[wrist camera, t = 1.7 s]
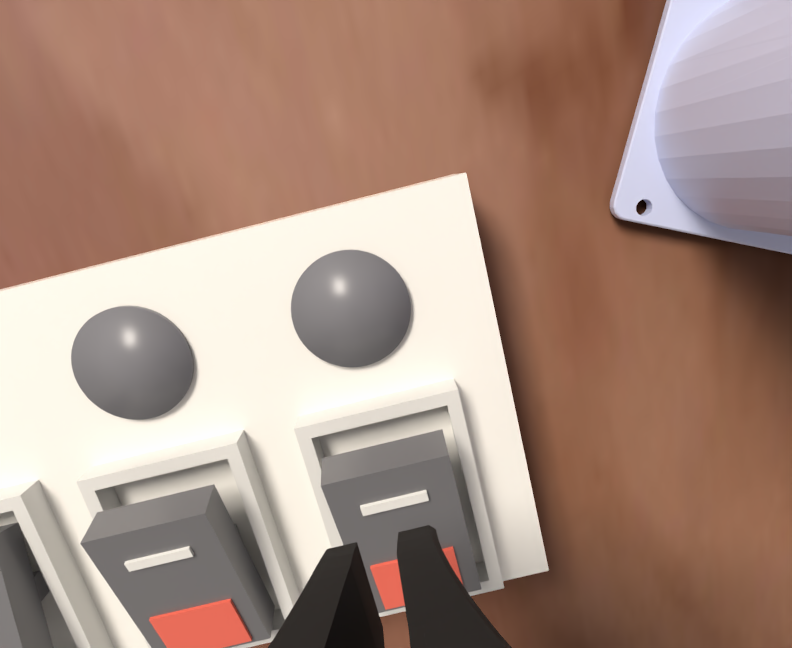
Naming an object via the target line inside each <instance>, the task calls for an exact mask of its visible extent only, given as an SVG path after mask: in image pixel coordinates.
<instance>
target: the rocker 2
mask: <svg viewBox="0 0 792 648" xmlns="http://www.w3.org/2000/svg"><path fill="white" fill-rule="evenodd" d="M321 488H322V491H323V493H324V496H325V498H326V501H327V504H328V506H329V509H330V511H331V514H332V517H333V519H334V522H335V524H336V527H337V529H338V532H339V535H340V537H341V540H342V542H343V545H346V544H350V543H355V542H357V544H358V547H359V551H360V554H361V557H362V561H363V564H364V567H365V570H366V574H367V577H368V580H369V584H370V587H371V590H372V593H373V597H374V600H375V603H376V607H377V610H378V613H381V612H386V611H390V610H394V609H399V608H403V607H405V603H404V597H403V591H402V585H401V579H400V573H399V566H398V560H397V540H398V532H401V531H406V530H410V529H414V528H418V527H423V526H427V525H430V526H432V527H433V528H435V529H436V531H437V535H438V539H439V543H440V545H441V548H442V550H443V552H444V554H445V556H446V558H447V560H448V561H449V563H450V565H451V567H452V569H453V570H454V572H455V574H456V575H457V577H458V578H459V580H460V581H461V583H462V584H463V586H464V587H465V589H466V590H467V592H472V591H477V590H481V584H480V580H479V576H478V572H477V568H476V564H475V560H474V556H473V552H472V547H471V543H470V539H469V535H468V531H467V527H466V523H465V519H464V515H463V511H462V506H461V502H460V498H459V494H458V490H457V486H456V482H455V478H454V474H453V469H452V465H451V461H450V457H449V453H448V449H447V445H446V441H445V438H444V434H443V430H442V429H441V430H437V431H433V432H429V433H424V434H420V435H416V436H412V437H408V438H404V439H399V440H395V441H391V442H387V443H383V444H379V445H375V446H370V447H366V448H362V449H358V450H354V451H350V452H345V453H341V454H337V455H333V456H329V457H325V458H322V471H321Z"/></svg>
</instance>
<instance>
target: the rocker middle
mask: <svg viewBox="0 0 792 648" xmlns="http://www.w3.org/2000/svg"><path fill="white" fill-rule="evenodd" d="M80 544H81V545H82V547H83V548H84V550H85V551H86V553H87V554H88V556H89V557H90V558H91V560H92V561H93V563H94V564H95V566H96V567H97V569H98V570H99V572H100V573H101V575H102V576H103V578H104V579H105V580H106V582H107V583H108V585H109V586H110V588H111V589H112V591H113V592H114V594H115V595H116V597H117V598H118V599H119V601H120V602H121V604H122V605H123V607H124V608H125V610H126V611H127V613H128V614H129V616H130V617H131V618H132V620H133V621H134V623H135V624H136V626H137V627H138V629H139V630H140V632H141V633H142V635H143V636H144V637H145V639H146V640H147V642H148V643H149V645H150V646H151V648H231V647H235V646H239V645H243V644H248V643H252V642H256V641H261V640H265V639H269V638H271V631H272V624H273V616H274V608H275V605H274V603H273V601H272V599H271V597H270V595H269V593H268V591H267V589H266V587H265V585H264V583H263V581H262V579H261V577H260V575H259V573H258V571H257V569H256V567H255V565H254V563H253V561H252V559H251V557H250V555H249V553H248V551H247V549H246V547H245V545H244V543H243V541H242V539H241V537H240V535H239V533H238V531H237V529H236V527H235V525H234V523H233V521H232V519H231V517H230V515H229V513H228V511H227V509H226V507H225V505H224V503H223V501H222V499H221V497H220V495H219V493H218V491H217V489H216V487H215V485H214V484H213V485H209V486H205V487H200V488H196V489H192V490H188V491H184V492H180V493H175V494H171V495H167V496H163V497H159V498H155V499H151V500H146V501H142V502H138V503H134V504H130V505H126V506H121V507H117V508H113V509H109V510H105V511H101V512H97V513H96V515H95V517H94V519H93V521H92V523H91V524H90V526H89V528H88V530H87V532H86V534H85V535H84V537H83V539H82V541H81V543H80Z"/></svg>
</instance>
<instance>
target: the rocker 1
mask: <svg viewBox="0 0 792 648" xmlns="http://www.w3.org/2000/svg"><path fill="white" fill-rule="evenodd" d="M0 648H54V647H53V643H52V639H51V636H50V632H49V629H48V625H47V621H46V618H45V614H44V611H43V607H42V603H41V600H40V596H39V592H38V589H37V585H36V582H35V578H34V574H33V571H32V567H31V564H30V560H29V556H28V553H27V549H26V545H25V542H24V538H23V535H22V531H21V527H20V525H19V523H18V522H17V523H12V524H8V525H4V526H0Z"/></svg>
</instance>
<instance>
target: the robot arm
mask: <svg viewBox="0 0 792 648" xmlns="http://www.w3.org/2000/svg"><path fill="white" fill-rule="evenodd" d="M641 200H644V201H645V202H646V204H647V206H646V210H645V212H644V213H643V214H641V215H639V214H638V213H637V211H636V205H637V204H638V202H639V201H641ZM610 210H611V213H612V214H613V215H614V216H615V217H616V218H618V219H621V220H626V221H631V222H636V223H641V224H646V225H650V226H655V227H660V228H665V229H670V230H675V231H680V232H685V233H690V234H694V235H699V236H704V237H709V238H714V239H719V240H724V241H729V242H734V243H739V244H743V245H748V246H753V247H758V248H763V249H768V250H773V251H778V252H783V253H788V254H792V0H667V1H666V4H665V8H664V11H663V15H662V18H661V22H660V26H659V29H658V33H657V36H656V40H655V43H654V47H653V50H652V54H651V58H650V61H649V65H648V68H647V72H646V75H645V79H644V83H643V86H642V90H641V93H640V97H639V100H638V104H637V107H636V111H635V115H634V118H633V122H632V125H631V129H630V132H629V136H628V140H627V143H626V147H625V150H624V154H623V157H622V161H621V165H620V168H619V172H618V175H617V179H616V182H615V186H614V189H613V193H612V197H611V200H610ZM397 560H398V566H399V573H400V579H401V585H402V591H403V597H404V603H405V609H406V615H407V621H408V627H409V636H410V646H411V648H512V647H511V646H510V645H509V644H508V643H507V642H506V641H505V640H504V638H503V637H502V636H501V635H500V634H499V633H498V631H497V630H496V629H495V628H494V627H493V625H492V624H491V623H490V622H489V620H488V619H487V618H486V616H485V615H484V614H483V613H482V611H481V610H480V609H479V607H478V606H477V605H476V603H475V602H474V601H473V599H472V598H471V596H470V595H469V593H468V592H467V590H466V589H465V587H464V586H463V584H462V583H461V581H460V580H459V578H458V577H457V575H456V574H455V572H454V570H453V569H452V567H451V565H450V563H449V561H448V560H447V558H446V556H445V554H444V552H443V550H442V548H441V545H440V543H439V539H438V535H437V531H436V529H435V528H433V527H432V526H430V525H427V526H423V527H418V528H414V529H410V530H406V531H401V532H398V540H397ZM268 648H384V636H383V626H382V623H381V620H380V616H379V613H378V610H377V607H376V603H375V600H374V597H373V593H372V590H371V587H370V584H369V580H368V577H367V574H366V570H365V567H364V564H363V561H362V557H361V554H360V551H359V547H358V544H357V542H355V543H350V544H346V545H342V546H338V547H333V548H329V549H327V550H326V551H325V553H324V554H323V556H322V557H321V559H320V561H319V563H318V564H317V566H316V568H315V570H314V571H313V573H312V575H311V577H310V579H309V580H308V582H307V584H306V586H305V587H304V589H303V591H302V593H301V594H300V596H299V598H298V599H297V601H296V603H295V605H294V606H293V608H292V610H291V611H290V613H289V614H288V616H287V618H286V619H285V621H284V623H283V624H282V626H281V628H280V629H279V631H278V633H277V634H276V636H275V637H274V639H273V640H272V642H271V643H270V645H269V646H268Z"/></svg>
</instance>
